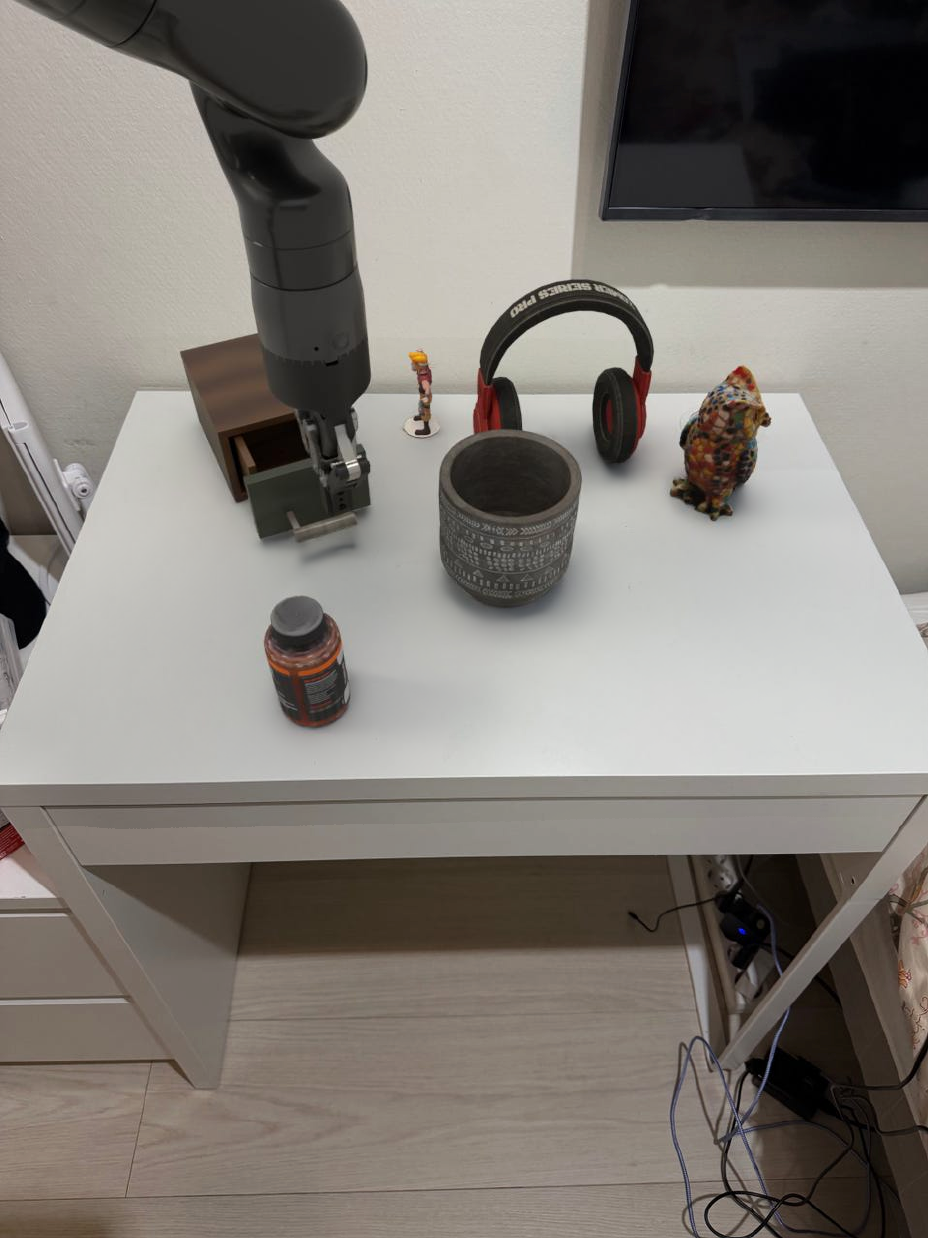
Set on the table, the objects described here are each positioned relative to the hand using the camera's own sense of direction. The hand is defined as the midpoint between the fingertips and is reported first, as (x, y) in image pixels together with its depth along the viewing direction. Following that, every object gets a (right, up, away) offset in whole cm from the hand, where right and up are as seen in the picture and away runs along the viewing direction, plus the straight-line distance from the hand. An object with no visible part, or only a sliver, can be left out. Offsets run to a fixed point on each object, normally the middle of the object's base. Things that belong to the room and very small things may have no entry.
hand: (338, 508), depth 72 cm
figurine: (+37, +3, +17) cm, 40 cm away
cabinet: (-10, +10, +21) cm, 25 cm away
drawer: (-6, +4, +15) cm, 16 cm away
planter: (+14, -5, +9) cm, 18 cm away
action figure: (+6, +11, +23) cm, 26 cm away
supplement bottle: (-2, -16, 0) cm, 17 cm away
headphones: (+21, +8, +20) cm, 30 cm away
